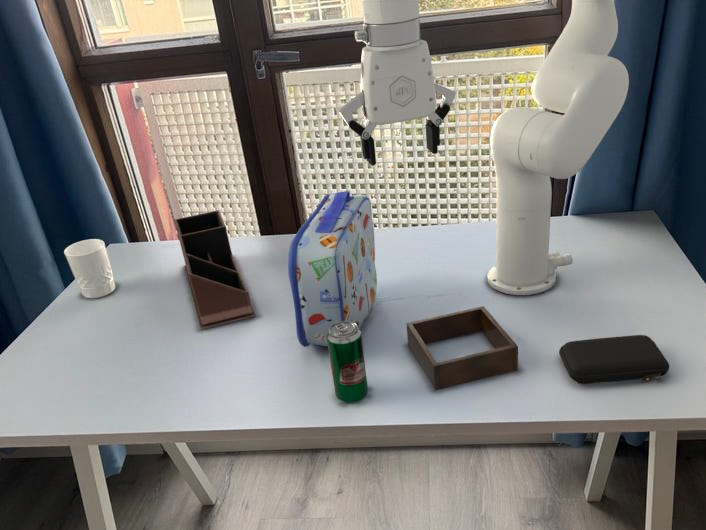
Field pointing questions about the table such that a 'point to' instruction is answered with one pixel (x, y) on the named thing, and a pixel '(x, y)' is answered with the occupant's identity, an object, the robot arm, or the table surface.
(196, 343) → the table surface
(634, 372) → the carrying case
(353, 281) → the lunch box
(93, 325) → the table surface
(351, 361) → the soda can
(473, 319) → the crate
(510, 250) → the robot arm
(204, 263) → the desk organizer
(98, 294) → the white cup
